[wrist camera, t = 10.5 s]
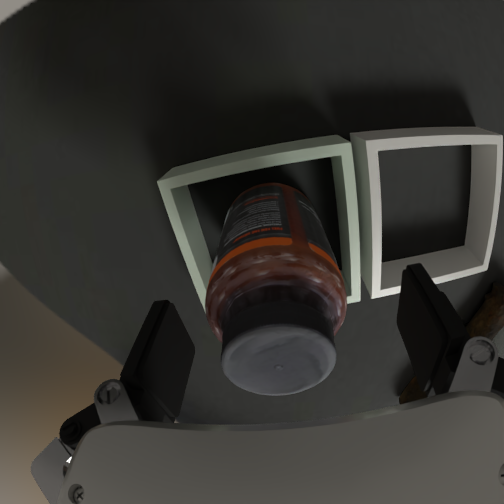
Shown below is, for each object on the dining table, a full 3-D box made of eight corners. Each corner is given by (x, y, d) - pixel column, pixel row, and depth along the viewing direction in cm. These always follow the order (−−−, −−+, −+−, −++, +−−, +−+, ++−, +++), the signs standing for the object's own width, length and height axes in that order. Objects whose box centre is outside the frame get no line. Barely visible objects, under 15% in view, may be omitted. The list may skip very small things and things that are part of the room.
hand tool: (491, 274, 21) (516, 303, 17) (507, 285, 21) (529, 313, 17) (383, 393, 30) (391, 425, 26) (404, 396, 30) (413, 425, 26)
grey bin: (476, 126, 14) (502, 135, 12) (468, 250, 19) (487, 270, 17) (349, 133, 16) (365, 140, 13) (360, 273, 21) (371, 298, 18)
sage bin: (336, 134, 16) (351, 142, 13) (350, 275, 21) (360, 301, 18) (172, 167, 17) (157, 181, 15) (216, 296, 22) (210, 324, 20)
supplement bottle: (207, 226, 19) (157, 364, 9) (268, 160, 17) (275, 259, 7) (273, 277, 21) (277, 421, 11) (335, 222, 19) (395, 356, 9)
